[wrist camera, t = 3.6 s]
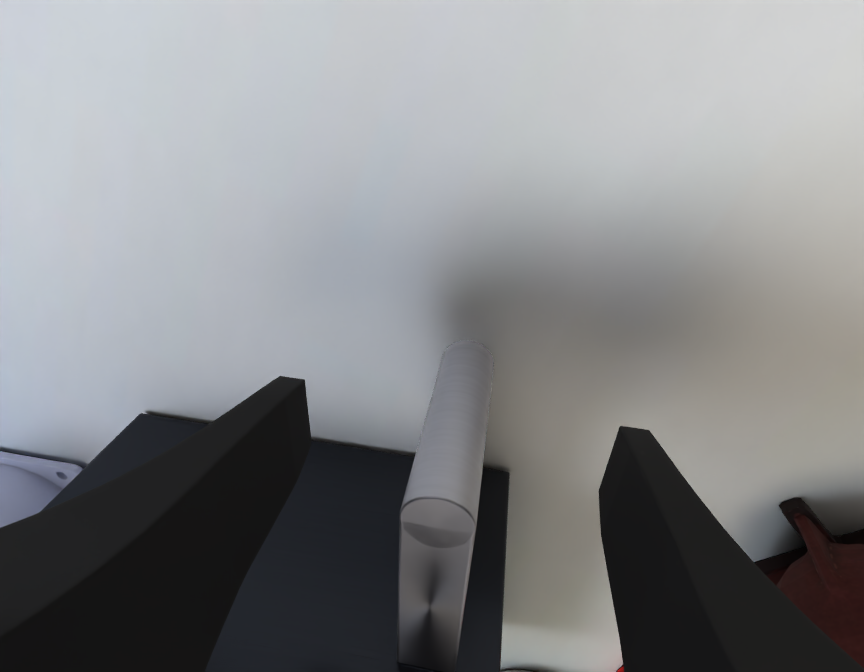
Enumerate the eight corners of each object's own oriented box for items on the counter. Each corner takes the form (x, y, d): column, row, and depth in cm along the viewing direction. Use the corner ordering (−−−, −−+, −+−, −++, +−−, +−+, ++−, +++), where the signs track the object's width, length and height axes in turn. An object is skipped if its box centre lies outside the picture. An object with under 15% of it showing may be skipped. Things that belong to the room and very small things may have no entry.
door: (90, 266, 18) (-433, 545, 8) (537, 321, 16) (547, 768, 6) (145, 426, 22) (-163, 741, 12) (507, 485, 20) (484, 912, 10)
